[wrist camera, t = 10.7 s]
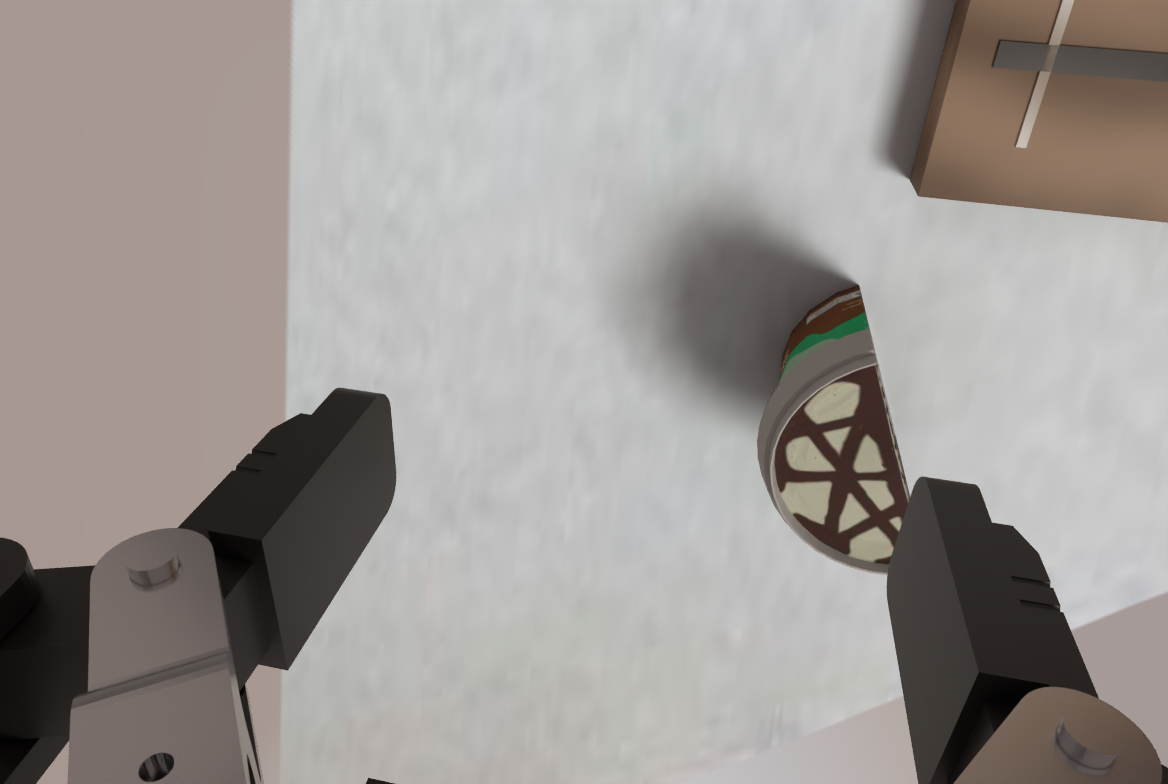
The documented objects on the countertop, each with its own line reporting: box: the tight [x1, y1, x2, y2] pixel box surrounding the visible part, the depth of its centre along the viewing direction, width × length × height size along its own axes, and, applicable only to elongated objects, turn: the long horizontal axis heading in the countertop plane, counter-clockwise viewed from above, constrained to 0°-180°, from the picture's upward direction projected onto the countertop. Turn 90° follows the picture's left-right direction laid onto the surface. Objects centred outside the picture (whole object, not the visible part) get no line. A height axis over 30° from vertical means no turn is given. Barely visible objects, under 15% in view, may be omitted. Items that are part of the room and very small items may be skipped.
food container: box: [757, 286, 910, 575], centre depth 40 cm, size 12×6×10 cm, turn 21°
